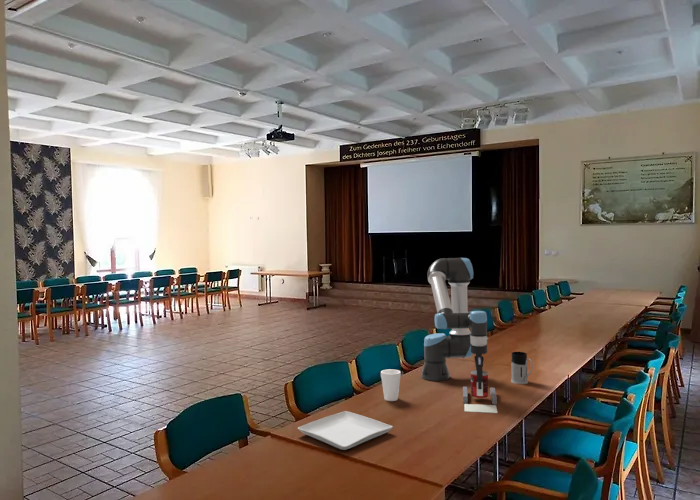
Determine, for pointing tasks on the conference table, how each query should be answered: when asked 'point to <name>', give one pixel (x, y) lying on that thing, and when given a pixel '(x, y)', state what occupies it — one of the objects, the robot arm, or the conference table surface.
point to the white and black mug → (520, 368)
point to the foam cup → (390, 384)
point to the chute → (480, 407)
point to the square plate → (345, 429)
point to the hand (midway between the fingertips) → (479, 392)
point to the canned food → (474, 384)
